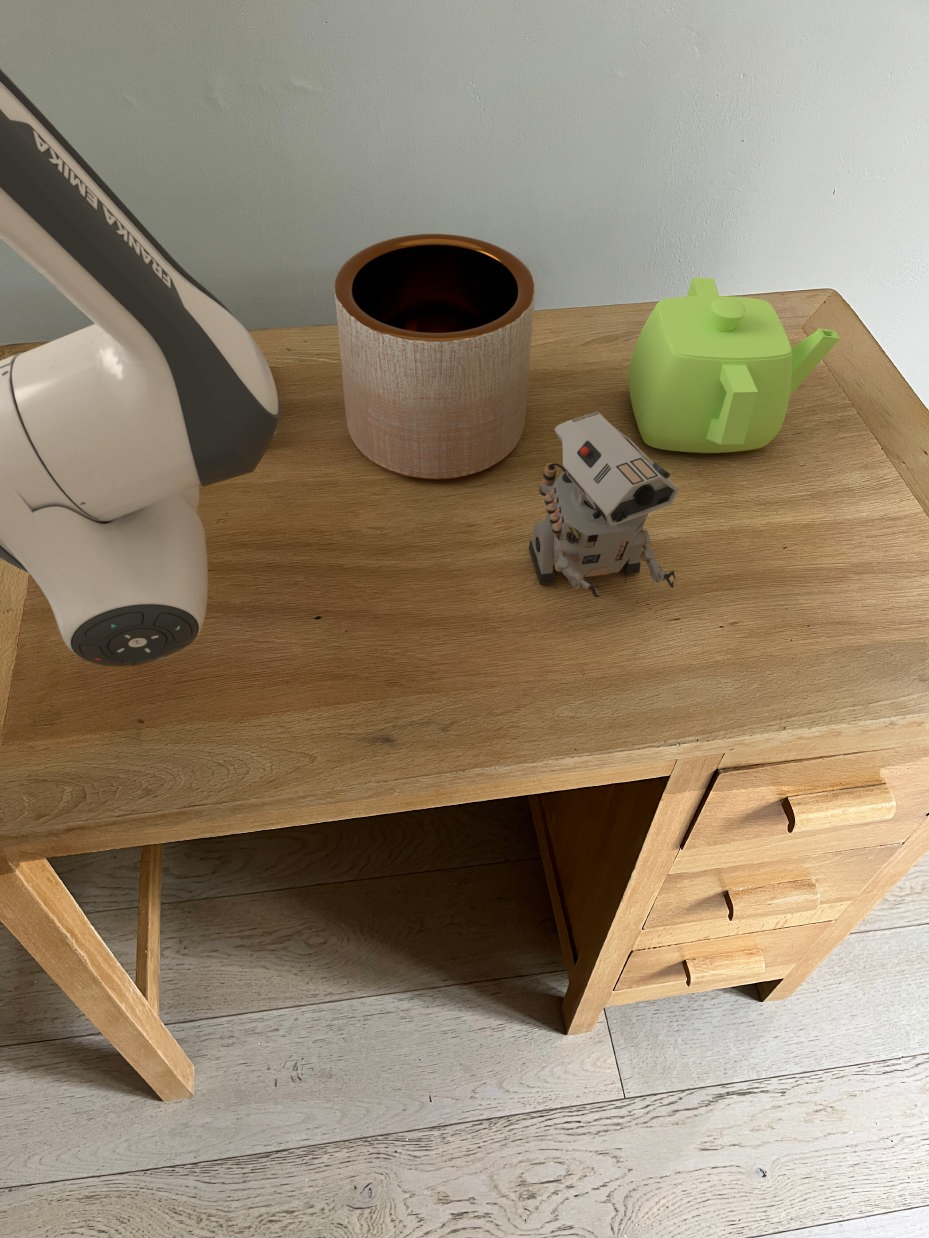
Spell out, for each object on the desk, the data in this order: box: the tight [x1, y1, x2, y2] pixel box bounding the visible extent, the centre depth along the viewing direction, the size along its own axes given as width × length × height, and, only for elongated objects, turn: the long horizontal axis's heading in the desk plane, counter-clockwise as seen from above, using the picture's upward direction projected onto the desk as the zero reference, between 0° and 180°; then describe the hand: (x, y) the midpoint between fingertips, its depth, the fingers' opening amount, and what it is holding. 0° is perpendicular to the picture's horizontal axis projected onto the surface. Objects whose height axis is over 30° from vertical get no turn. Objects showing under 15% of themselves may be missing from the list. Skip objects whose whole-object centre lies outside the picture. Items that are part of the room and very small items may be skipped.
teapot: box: [627, 277, 840, 454], centre depth 83 cm, size 18×20×13 cm
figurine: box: [528, 411, 680, 598], centre depth 68 cm, size 9×12×15 cm
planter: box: [333, 233, 536, 480], centre depth 80 cm, size 18×18×16 cm
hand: (122, 348), depth 67 cm, fingers open, 8 cm apart
